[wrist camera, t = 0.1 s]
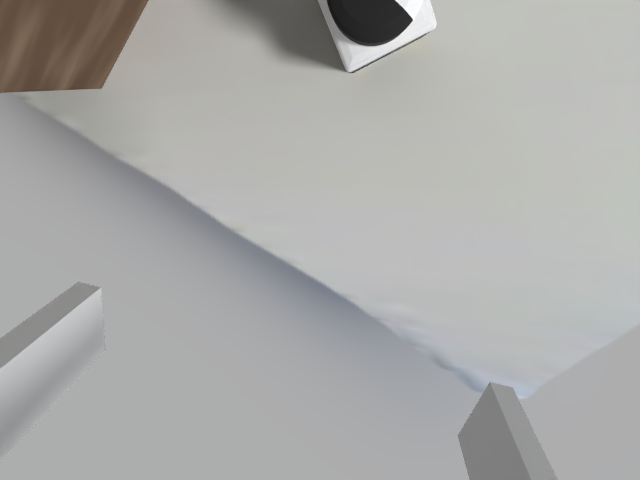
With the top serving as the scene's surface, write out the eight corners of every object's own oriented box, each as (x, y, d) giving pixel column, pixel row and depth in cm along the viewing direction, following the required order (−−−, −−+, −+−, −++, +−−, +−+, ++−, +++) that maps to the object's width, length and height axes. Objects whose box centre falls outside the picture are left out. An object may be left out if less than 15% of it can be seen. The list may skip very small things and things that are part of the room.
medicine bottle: (349, 74, 33) (344, 73, 22) (317, -7, 31) (294, -52, 20) (422, 36, 31) (455, 15, 21) (394, -53, 29) (415, -130, 18)
